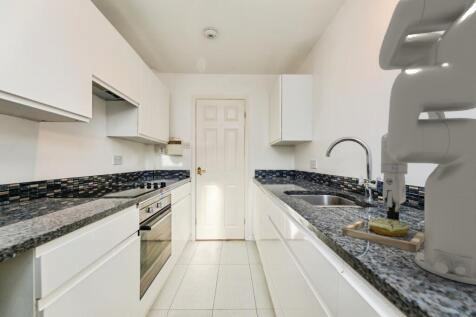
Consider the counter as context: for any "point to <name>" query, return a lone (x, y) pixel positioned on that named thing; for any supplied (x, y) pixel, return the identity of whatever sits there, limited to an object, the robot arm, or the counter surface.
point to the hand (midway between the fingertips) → (393, 222)
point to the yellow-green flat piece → (388, 227)
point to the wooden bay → (401, 244)
